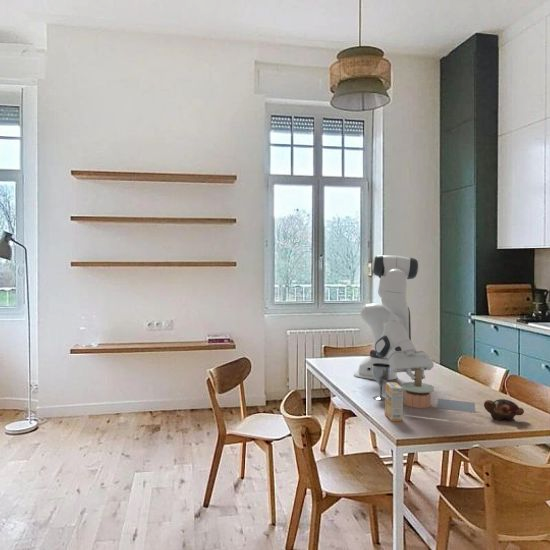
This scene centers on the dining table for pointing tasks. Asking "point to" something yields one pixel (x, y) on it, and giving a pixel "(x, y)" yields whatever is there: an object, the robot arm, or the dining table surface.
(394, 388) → the supplement box
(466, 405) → the mat
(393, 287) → the robot arm
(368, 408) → the dining table surface
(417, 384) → the lid
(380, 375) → the wine glass
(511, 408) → the decorative turtle
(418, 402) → the bowl
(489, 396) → the dining table surface
